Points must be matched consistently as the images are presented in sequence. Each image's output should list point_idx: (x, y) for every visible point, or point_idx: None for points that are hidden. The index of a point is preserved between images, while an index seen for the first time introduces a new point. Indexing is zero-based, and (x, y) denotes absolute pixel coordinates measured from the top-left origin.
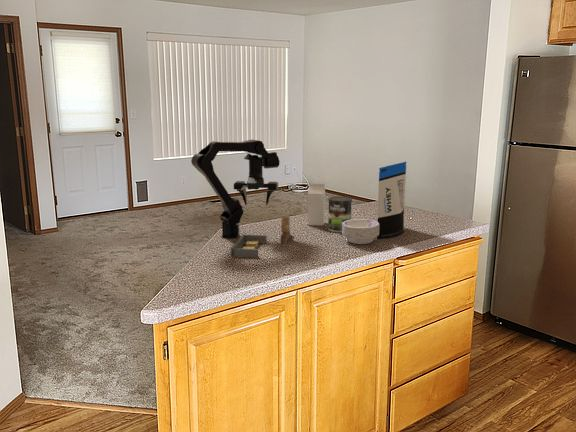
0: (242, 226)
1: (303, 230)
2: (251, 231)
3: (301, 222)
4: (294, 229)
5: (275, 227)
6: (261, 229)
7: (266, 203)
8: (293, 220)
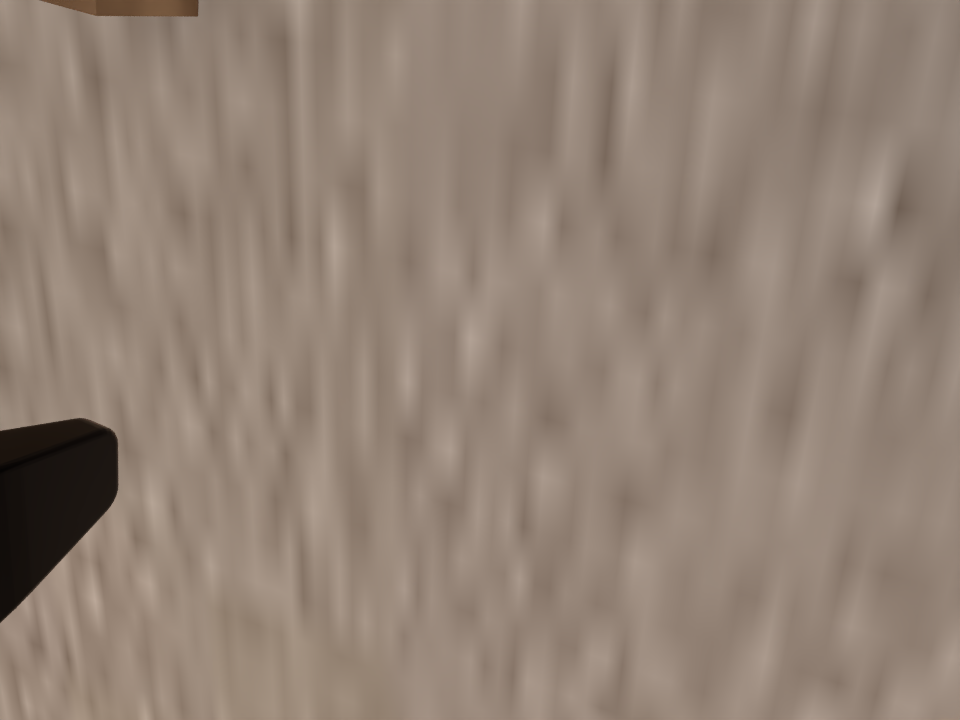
0: (878, 694)
1: (3, 225)
2: (763, 336)
3: (75, 591)
4: (109, 302)
5: (351, 473)
6: (564, 421)
7: (37, 447)
8: (162, 699)
